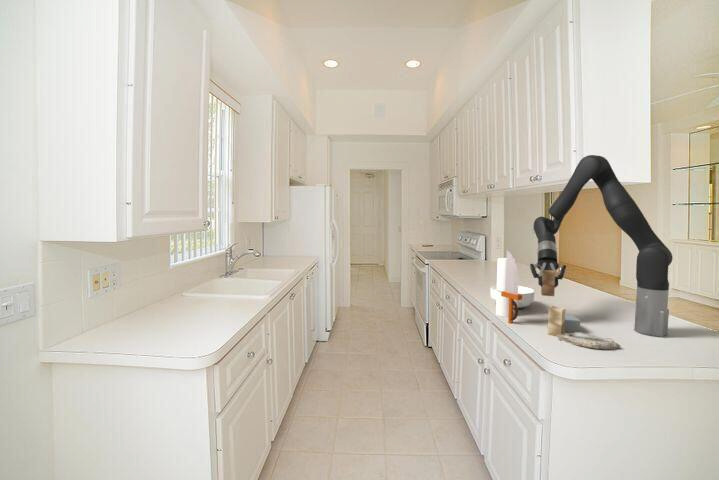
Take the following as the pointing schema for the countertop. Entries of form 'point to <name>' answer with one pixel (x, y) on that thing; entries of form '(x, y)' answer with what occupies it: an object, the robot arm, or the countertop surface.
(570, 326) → the base block
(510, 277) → the knife
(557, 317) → the oak block
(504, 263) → the cylindrical container
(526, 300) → the bowl
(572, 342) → the fossil
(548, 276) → the walnut block
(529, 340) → the countertop surface
